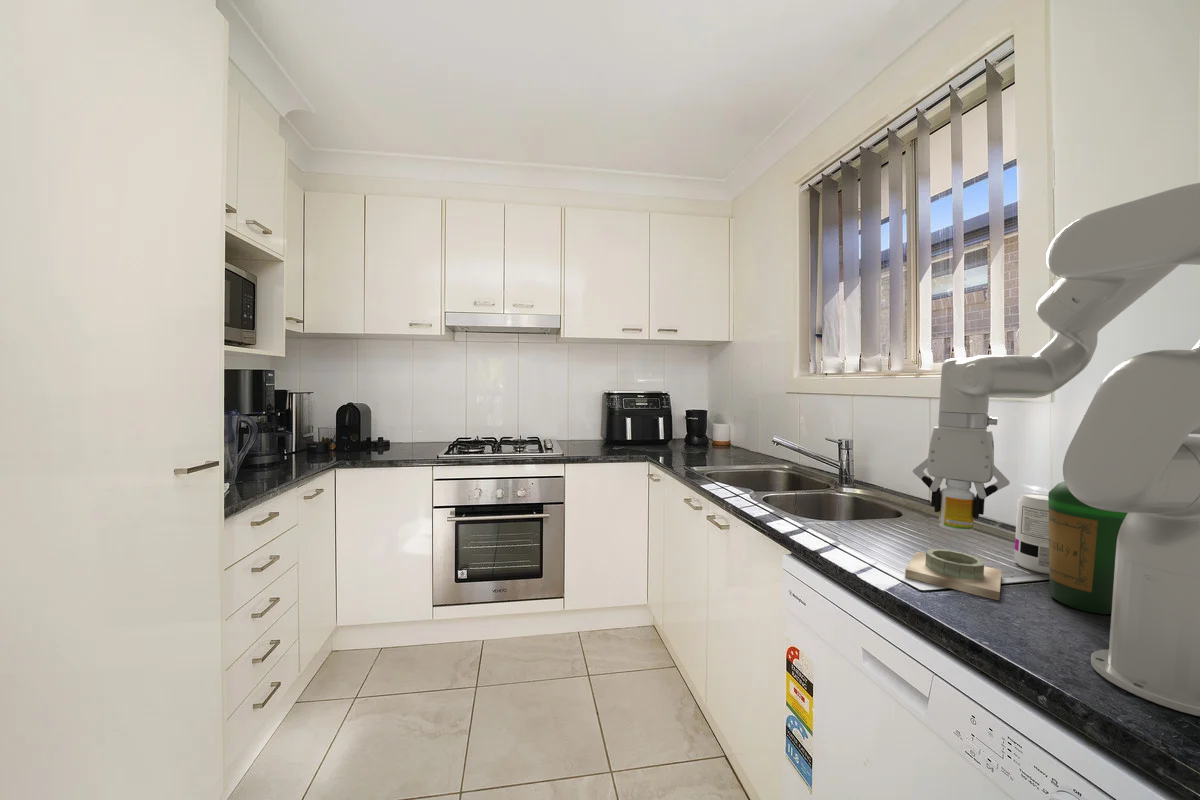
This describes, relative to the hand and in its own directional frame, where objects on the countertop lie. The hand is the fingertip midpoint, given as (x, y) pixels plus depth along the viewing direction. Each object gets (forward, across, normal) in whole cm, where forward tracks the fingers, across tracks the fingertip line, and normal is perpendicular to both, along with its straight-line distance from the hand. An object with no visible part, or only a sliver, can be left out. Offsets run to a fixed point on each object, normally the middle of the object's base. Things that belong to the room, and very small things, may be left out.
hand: (956, 513), depth 92 cm
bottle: (+13, -18, -2) cm, 22 cm away
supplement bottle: (+3, 0, 0) cm, 3 cm away
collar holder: (+13, 0, 0) cm, 13 cm away
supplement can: (+13, -13, -20) cm, 27 cm away
